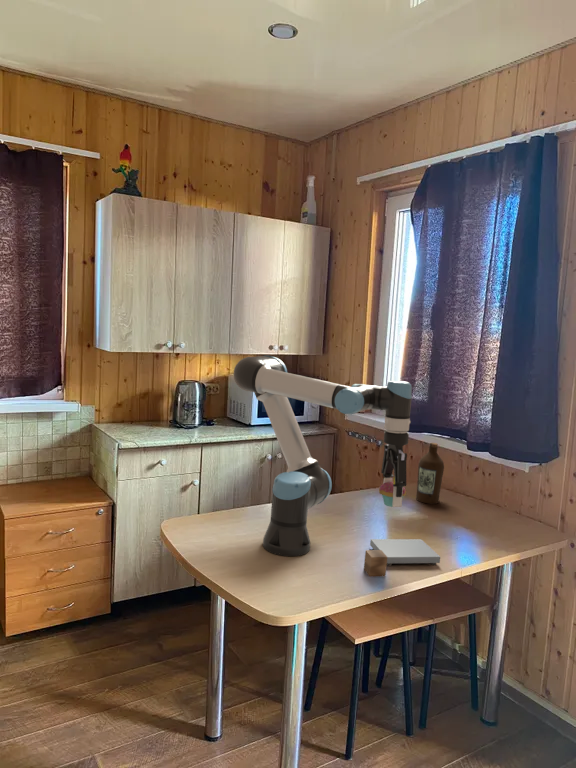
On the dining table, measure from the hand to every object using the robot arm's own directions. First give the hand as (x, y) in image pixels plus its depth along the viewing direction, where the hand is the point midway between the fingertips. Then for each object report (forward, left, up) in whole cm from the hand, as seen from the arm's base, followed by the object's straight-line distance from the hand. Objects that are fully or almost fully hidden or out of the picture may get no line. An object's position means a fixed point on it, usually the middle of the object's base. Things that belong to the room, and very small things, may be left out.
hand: (391, 501), depth 183 cm
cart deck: (+6, +1, -18) cm, 19 cm away
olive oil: (+41, +58, -19) cm, 74 cm away
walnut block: (-8, -10, -18) cm, 22 cm away
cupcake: (0, 0, -1) cm, 1 cm away
